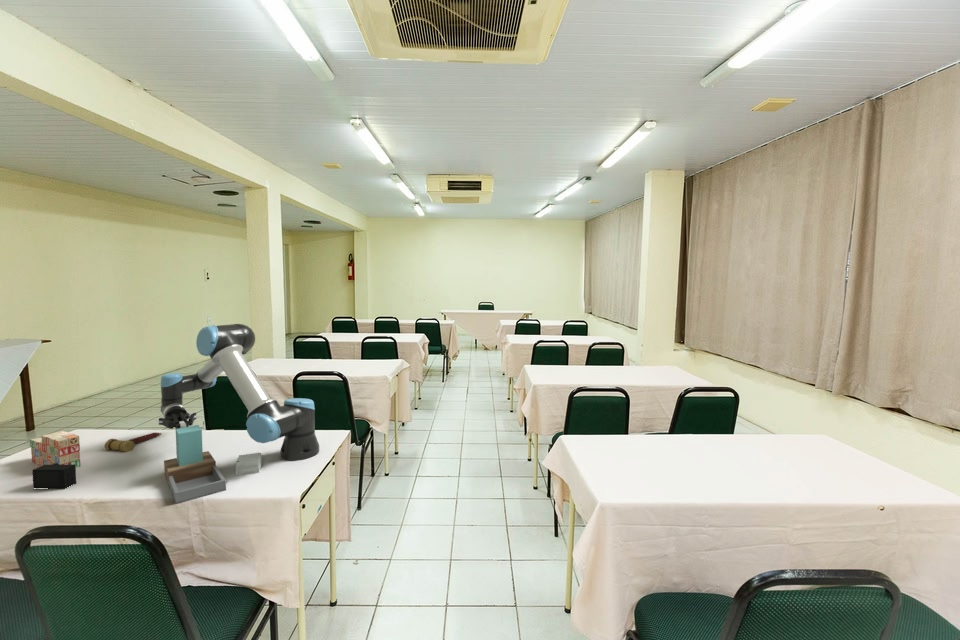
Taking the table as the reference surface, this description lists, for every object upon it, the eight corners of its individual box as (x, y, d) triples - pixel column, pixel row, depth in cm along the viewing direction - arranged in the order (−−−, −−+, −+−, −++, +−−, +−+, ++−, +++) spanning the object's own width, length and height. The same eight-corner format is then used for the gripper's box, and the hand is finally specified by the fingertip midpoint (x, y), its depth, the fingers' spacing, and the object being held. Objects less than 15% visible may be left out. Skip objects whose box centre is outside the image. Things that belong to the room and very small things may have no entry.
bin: (169, 486, 143) (168, 476, 143) (216, 474, 153) (215, 465, 152) (175, 504, 132) (175, 493, 131) (226, 490, 141) (225, 480, 141)
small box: (261, 464, 162) (261, 452, 162) (259, 473, 155) (258, 459, 155) (239, 467, 159) (238, 454, 159) (235, 476, 152) (235, 462, 152)
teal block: (176, 460, 152) (175, 429, 152) (199, 455, 157) (198, 424, 156) (179, 466, 147) (178, 434, 147) (202, 461, 152) (201, 429, 151)
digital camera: (80, 481, 146) (79, 462, 145) (65, 489, 140) (64, 469, 140) (49, 482, 145) (48, 462, 145) (33, 489, 140) (32, 469, 139)
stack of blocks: (31, 462, 161) (29, 431, 160) (52, 456, 167) (51, 427, 166) (59, 472, 152) (57, 440, 152) (81, 466, 158) (79, 435, 157)
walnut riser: (164, 473, 153) (164, 460, 152) (209, 463, 162) (208, 451, 162) (169, 486, 143) (168, 472, 143) (216, 474, 153) (215, 461, 152)
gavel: (152, 427, 194) (170, 429, 192) (152, 437, 194) (170, 439, 192) (104, 440, 173) (123, 442, 171) (104, 451, 173) (123, 453, 171)
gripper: (194, 419, 180) (204, 434, 163) (156, 426, 171) (163, 442, 154) (193, 403, 180) (204, 416, 162) (155, 408, 171) (162, 422, 153)
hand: (184, 429), depth 158 cm, fingers closed
